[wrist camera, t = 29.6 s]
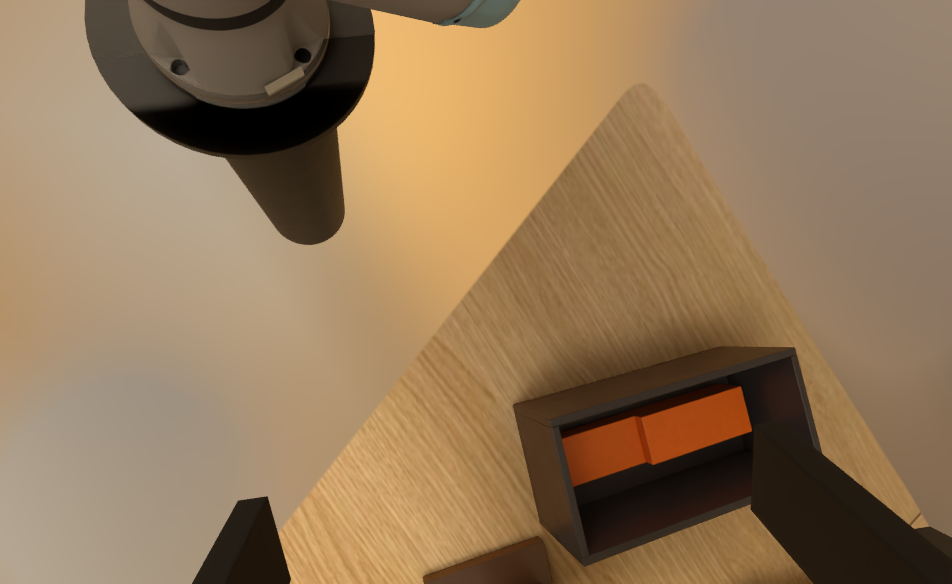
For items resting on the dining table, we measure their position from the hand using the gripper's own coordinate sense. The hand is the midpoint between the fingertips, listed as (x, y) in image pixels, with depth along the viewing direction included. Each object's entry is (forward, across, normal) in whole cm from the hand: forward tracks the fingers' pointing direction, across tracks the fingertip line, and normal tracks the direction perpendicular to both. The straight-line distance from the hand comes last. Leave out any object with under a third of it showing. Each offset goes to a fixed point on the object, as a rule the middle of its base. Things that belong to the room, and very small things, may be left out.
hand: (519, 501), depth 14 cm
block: (+27, +12, -17) cm, 34 cm away
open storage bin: (+28, +13, -17) cm, 35 cm away
